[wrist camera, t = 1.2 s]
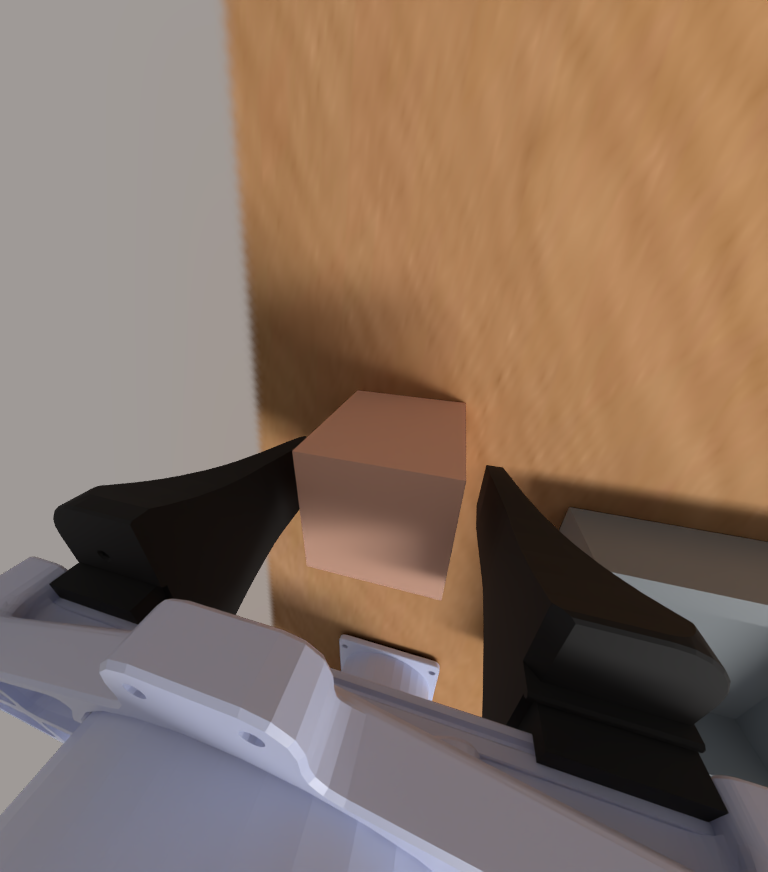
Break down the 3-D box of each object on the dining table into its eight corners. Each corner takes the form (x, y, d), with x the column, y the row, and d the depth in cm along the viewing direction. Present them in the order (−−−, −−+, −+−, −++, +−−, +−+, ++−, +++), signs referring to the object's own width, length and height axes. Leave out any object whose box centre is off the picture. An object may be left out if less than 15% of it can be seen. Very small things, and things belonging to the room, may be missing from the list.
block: (449, 492, 15) (441, 600, 10) (358, 476, 16) (307, 565, 11) (465, 402, 13) (466, 480, 7) (357, 390, 14) (292, 451, 8)
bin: (737, 719, 17) (796, 812, 14) (505, 654, 20) (512, 720, 17) (943, 573, 11) (1127, 681, 8) (569, 506, 14) (599, 569, 11)
